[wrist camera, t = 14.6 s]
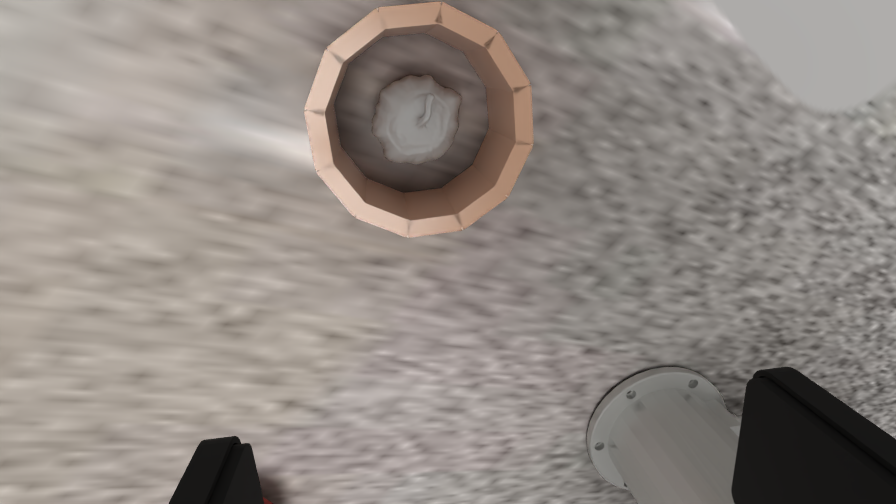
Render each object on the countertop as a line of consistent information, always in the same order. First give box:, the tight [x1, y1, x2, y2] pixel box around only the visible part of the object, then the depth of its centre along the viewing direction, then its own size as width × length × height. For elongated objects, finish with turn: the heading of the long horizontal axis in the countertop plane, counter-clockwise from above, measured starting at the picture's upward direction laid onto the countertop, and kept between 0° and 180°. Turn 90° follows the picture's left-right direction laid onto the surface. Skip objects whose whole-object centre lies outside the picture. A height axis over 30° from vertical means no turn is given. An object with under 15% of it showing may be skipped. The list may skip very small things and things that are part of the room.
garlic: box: [372, 75, 462, 165], centre depth 31 cm, size 6×5×5 cm
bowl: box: [304, 1, 534, 238], centre depth 31 cm, size 12×12×7 cm
